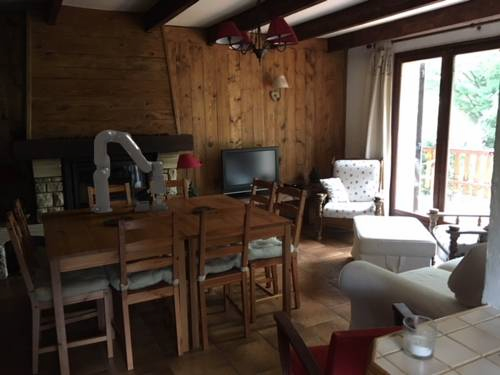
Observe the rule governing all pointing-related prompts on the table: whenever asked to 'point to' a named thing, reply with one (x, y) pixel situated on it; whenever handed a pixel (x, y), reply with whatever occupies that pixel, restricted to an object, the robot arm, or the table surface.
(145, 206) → the socket panel
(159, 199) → the plug
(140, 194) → the magazine
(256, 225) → the table surface
